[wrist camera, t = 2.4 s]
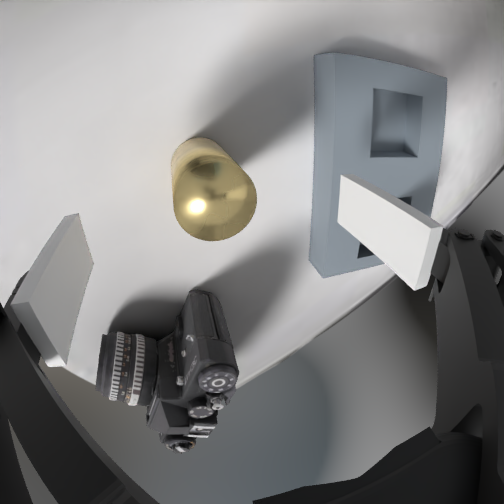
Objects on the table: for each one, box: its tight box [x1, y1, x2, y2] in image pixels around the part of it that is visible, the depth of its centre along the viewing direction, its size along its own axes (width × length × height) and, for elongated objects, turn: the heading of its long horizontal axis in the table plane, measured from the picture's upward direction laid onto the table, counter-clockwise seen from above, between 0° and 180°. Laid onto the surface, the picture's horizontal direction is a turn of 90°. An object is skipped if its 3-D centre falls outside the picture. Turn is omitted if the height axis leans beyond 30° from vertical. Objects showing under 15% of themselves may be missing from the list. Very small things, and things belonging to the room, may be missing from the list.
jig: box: [309, 52, 447, 278], centre depth 21 cm, size 18×12×8 cm, turn 2°
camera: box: [96, 290, 239, 453], centre depth 24 cm, size 14×11×10 cm
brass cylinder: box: [171, 137, 257, 241], centre depth 17 cm, size 4×4×8 cm
